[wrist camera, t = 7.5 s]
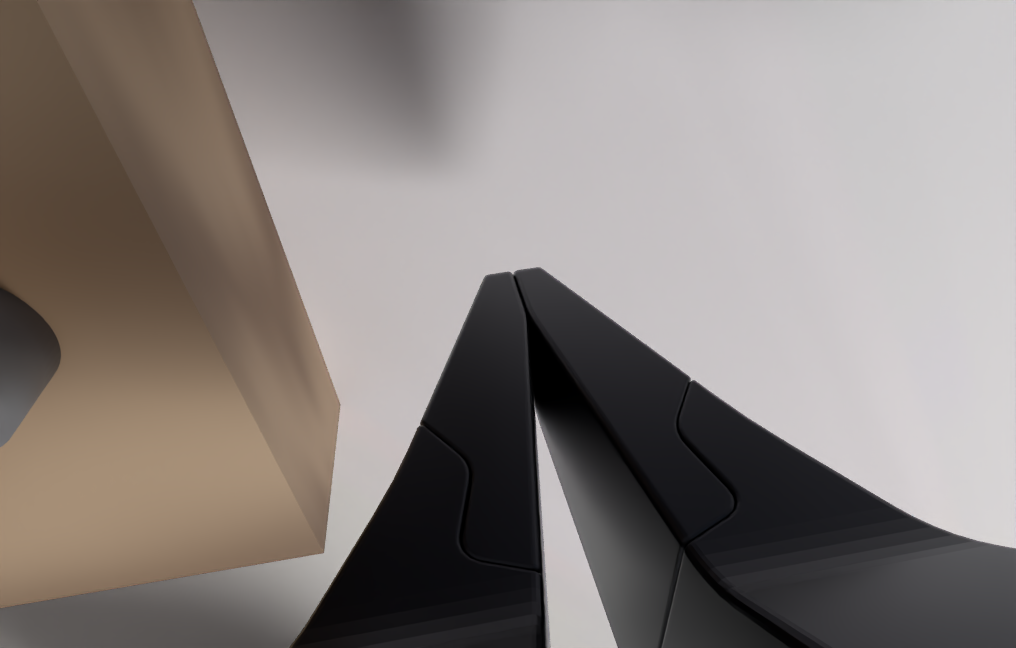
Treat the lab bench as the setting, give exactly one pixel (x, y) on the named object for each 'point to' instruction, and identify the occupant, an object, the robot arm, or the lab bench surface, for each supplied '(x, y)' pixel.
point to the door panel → (143, 316)
